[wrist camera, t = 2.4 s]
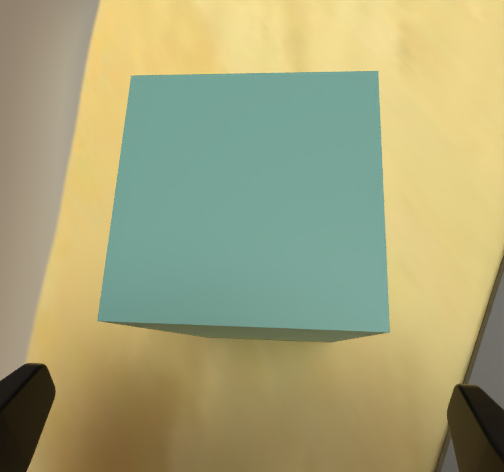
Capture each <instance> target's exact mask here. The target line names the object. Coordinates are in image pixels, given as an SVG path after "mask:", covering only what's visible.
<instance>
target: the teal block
mask: <svg viewBox="0 0 504 472" xmlns="http://www.w3.org/2000/svg"><path fill="white" fill-rule="evenodd" d="M98 321H101V322H108V323H114V324H121V325H128V326H134V327H141V328H148V329H154V330H161V331H168V332H174V333H181V334H188V335H195V336H201V337H212V338H236V339H260V340H284V341H308V342H336V341H342V340H347V339H353V338H359V337H365V336H371V335H377V334H383V333H389V332H390V327H389V304H388V282H387V260H386V237H385V215H384V193H383V170H382V148H381V126H380V103H379V81H378V71H354V72H301V73H247V74H193V75H140V76H131V82H130V89H129V96H128V104H127V111H126V118H125V125H124V133H123V140H122V147H121V154H120V161H119V169H118V176H117V183H116V190H115V198H114V205H113V212H112V219H111V227H110V234H109V241H108V248H107V255H106V263H105V270H104V277H103V284H102V292H101V299H100V306H99V313H98Z"/></svg>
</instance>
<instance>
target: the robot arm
mask: <svg viewBox="0 0 504 472" xmlns="http://www.w3.org/2000/svg"><path fill="white" fill-rule="evenodd" d="M55 392H56V391H55V385H54V383H53V380H52V378H51V375H50V373H49V370H48V368H47V366H46V365H44V364H40V363H27V364H24V365H23V366H21V367H20V368H18V369H17V370H15V371H14V372H13V373H11V374H10V375H8V376H7V377H5V378H4V379H2V380H1V381H0V472H26V471H27V469H28V467H29V464H30V462H31V459H32V457H33V455H34V452H35V449H36V447H37V444H38V441H39V439H40V436H41V433H42V431H43V428H44V425H45V422H46V420H47V417H48V414H49V412H50V409H51V406H52V404H53V401H54V398H55ZM447 420H448V424H449V429H450V434H451V438H452V443H453V447H454V452H455V456H456V461H457V465H458V470H459V472H504V409H503V408H502V407H500V406H499V405H498V404H497V403H496V402H495V401H494V400H493V399H492V398H491V397H490V396H489V395H488V394H487V393H486V392H485V391H484V390H483V389H481V388H480V387H479V386H477V385H473V384H457V385H456V386H455V387H454V390H453V393H452V396H451V399H450V402H449V406H448V409H447Z"/></svg>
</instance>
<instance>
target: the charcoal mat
mask: <svg viewBox="0 0 504 472" xmlns="http://www.w3.org/2000/svg"><path fill="white" fill-rule="evenodd" d="M463 384H473V385H477V386H479V387H480V388H481V389H483V390H484V391H485V392H486V393H487V394H488V395H489V396H490V397H491V398H492V399H493V400H494V401H495V402H496V403H497V404H498V405H499V406H500V407H502V408H503V409H504V257H503V260H502V263H501V266H500V270H499V273H498V276H497V279H496V282H495V285H494V289H493V292H492V295H491V298H490V301H489V304H488V307H487V311H486V314H485V317H484V320H483V323H482V326H481V330H480V333H479V336H478V339H477V342H476V345H475V348H474V352H473V355H472V358H471V361H470V364H469V367H468V371H467V374H466V377H465V380H464V383H463ZM436 472H459V470H458V465H457V461H456V456H455V452H454V447H453V443H452V438H451V434H450V429H449V431H448V434H447V437H446V440H445V443H444V446H443V449H442V453H441V456H440V459H439V462H438V465H437V468H436Z"/></svg>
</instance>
